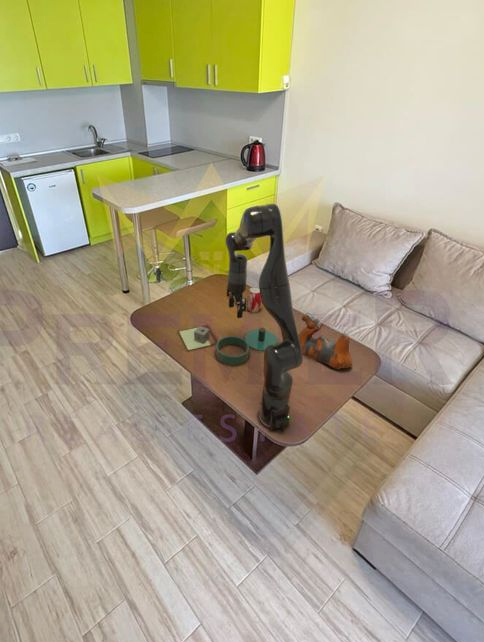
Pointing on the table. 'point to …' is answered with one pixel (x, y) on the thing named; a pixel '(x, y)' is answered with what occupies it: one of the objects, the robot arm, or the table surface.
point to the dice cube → (201, 334)
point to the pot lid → (260, 339)
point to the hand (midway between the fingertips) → (235, 312)
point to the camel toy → (324, 345)
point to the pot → (232, 359)
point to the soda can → (254, 300)
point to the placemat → (192, 340)
